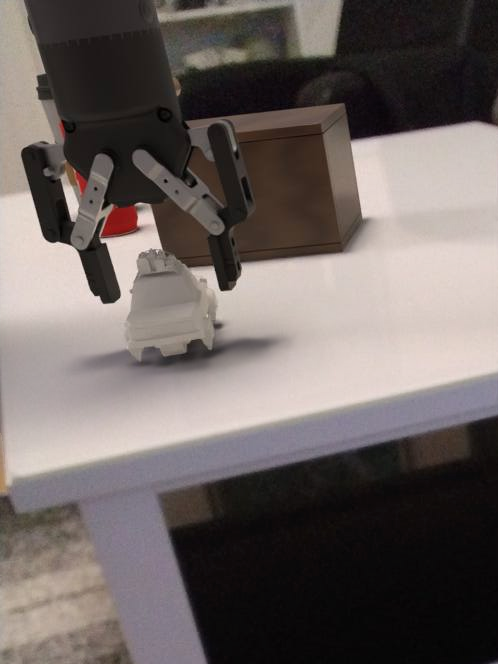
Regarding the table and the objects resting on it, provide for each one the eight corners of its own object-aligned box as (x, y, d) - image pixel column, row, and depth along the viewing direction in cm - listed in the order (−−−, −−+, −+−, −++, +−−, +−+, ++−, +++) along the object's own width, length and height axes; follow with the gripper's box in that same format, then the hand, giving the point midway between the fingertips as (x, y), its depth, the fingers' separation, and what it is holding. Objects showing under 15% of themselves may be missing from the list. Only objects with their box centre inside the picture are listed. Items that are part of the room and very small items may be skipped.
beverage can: (115, 238, 109) (79, 113, 102) (83, 237, 112) (46, 115, 105) (150, 226, 113) (118, 105, 106) (119, 225, 115) (85, 106, 108)
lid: (126, 154, 89) (109, 90, 86) (171, 131, 100) (157, 74, 98) (322, 133, 88) (311, 67, 85) (346, 112, 99) (336, 53, 96)
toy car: (223, 316, 79) (201, 223, 75) (217, 364, 69) (192, 260, 65) (145, 327, 79) (119, 235, 75) (128, 378, 69) (97, 274, 65)
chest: (167, 268, 95) (136, 153, 89) (205, 234, 106) (180, 130, 100) (342, 251, 93) (322, 133, 88) (362, 219, 104) (346, 112, 99)
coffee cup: (106, 205, 127) (66, 69, 119) (159, 204, 124) (123, 63, 116) (60, 222, 121) (15, 78, 113) (115, 220, 118) (73, 73, 109)
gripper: (224, 11, 65) (279, 270, 74) (13, 39, 67) (92, 290, 76) (192, 18, 59) (256, 300, 68) (-40, 48, 61) (53, 320, 70)
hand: (170, 294), depth 72 cm, fingers open, 8 cm apart
